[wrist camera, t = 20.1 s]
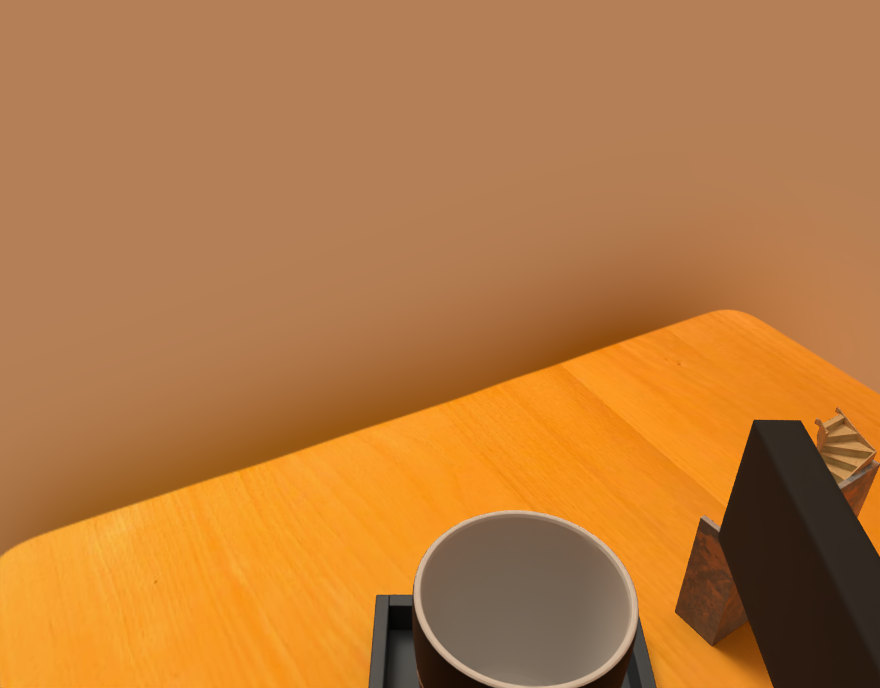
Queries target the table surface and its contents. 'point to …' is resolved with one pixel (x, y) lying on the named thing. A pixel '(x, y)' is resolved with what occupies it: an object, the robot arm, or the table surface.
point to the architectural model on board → (707, 575)
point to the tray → (396, 654)
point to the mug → (522, 606)
